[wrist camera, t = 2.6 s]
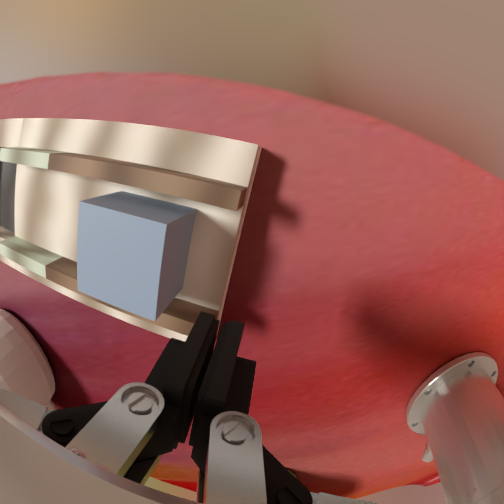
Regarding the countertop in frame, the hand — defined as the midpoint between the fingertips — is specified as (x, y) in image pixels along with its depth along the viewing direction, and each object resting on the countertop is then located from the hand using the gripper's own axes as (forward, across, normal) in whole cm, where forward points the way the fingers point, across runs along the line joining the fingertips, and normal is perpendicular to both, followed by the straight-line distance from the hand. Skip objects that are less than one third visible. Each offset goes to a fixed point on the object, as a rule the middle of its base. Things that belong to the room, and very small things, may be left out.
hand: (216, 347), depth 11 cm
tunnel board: (+13, +18, 0) cm, 22 cm away
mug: (+13, +29, +27) cm, 42 cm away
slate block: (+10, +7, 0) cm, 12 cm away
